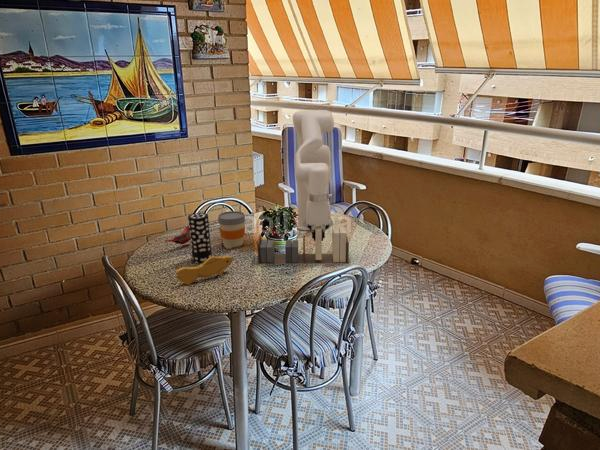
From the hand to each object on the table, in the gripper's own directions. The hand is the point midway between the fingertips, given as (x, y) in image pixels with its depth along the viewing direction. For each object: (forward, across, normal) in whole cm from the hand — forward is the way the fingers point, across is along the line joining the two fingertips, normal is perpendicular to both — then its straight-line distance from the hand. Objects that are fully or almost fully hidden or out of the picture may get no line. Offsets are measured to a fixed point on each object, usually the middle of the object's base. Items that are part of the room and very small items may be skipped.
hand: (318, 239), depth 171 cm
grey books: (+9, +16, 0) cm, 19 cm away
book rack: (+10, +6, 0) cm, 12 cm away
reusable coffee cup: (+10, +40, -18) cm, 45 cm away
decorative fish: (+10, +44, +17) cm, 49 cm away
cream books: (+9, -9, 0) cm, 12 cm away
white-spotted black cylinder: (+10, +50, -2) cm, 51 cm away
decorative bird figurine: (+10, +64, -16) cm, 66 cm away
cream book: (+8, 0, 0) cm, 8 cm away
